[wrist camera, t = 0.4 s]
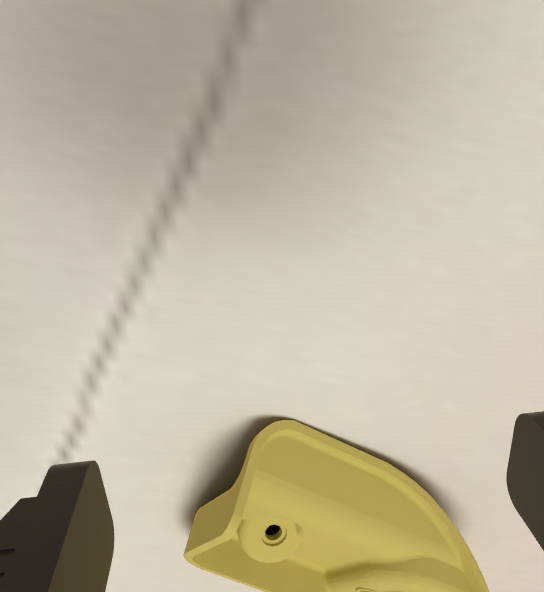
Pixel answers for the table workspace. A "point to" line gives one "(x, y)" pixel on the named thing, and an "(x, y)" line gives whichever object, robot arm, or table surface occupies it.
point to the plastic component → (328, 523)
